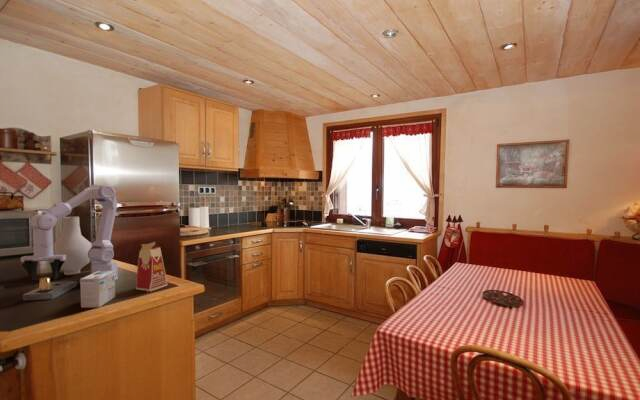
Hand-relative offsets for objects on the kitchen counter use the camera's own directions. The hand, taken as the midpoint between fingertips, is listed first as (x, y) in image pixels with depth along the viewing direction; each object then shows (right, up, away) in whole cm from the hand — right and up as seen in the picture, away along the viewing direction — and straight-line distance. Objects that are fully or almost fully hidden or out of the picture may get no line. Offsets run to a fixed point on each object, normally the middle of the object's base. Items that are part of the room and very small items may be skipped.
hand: (44, 279), depth 125 cm
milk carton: (+35, -7, +12) cm, 38 cm away
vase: (-15, -5, +33) cm, 37 cm away
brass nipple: (0, -7, 0) cm, 7 cm away
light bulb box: (+25, -8, -5) cm, 27 cm away
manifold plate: (-1, -7, +4) cm, 8 cm away
